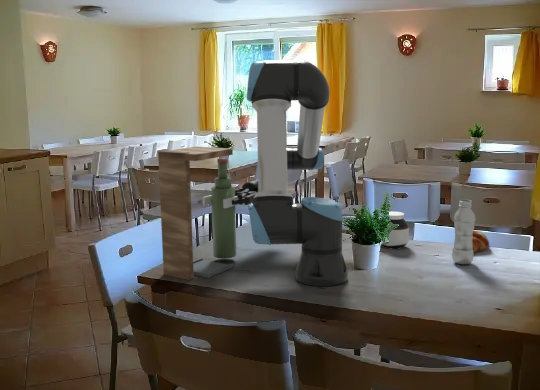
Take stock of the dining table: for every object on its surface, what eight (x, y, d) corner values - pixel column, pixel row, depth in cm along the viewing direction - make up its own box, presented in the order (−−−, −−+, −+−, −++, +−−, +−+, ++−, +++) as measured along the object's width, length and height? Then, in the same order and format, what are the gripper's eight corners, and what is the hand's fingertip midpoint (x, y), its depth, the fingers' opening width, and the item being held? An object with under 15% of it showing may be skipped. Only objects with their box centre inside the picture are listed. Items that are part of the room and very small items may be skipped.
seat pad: (200, 260, 191) (200, 257, 190) (232, 267, 184) (232, 264, 183) (175, 270, 181) (174, 267, 180) (208, 277, 174) (208, 274, 173)
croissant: (474, 250, 212) (465, 229, 213) (501, 241, 206) (491, 219, 207) (453, 263, 196) (443, 240, 197) (480, 253, 190) (470, 230, 191)
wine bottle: (240, 256, 189) (238, 159, 183) (218, 259, 185) (215, 160, 180) (230, 250, 195) (228, 156, 190) (209, 253, 192) (207, 158, 186)
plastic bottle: (474, 261, 187) (477, 199, 183) (471, 267, 181) (475, 203, 177) (453, 259, 189) (456, 198, 186) (450, 265, 183) (453, 201, 180)
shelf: (200, 260, 191) (196, 145, 184) (235, 267, 184) (232, 148, 177) (163, 274, 177) (158, 151, 170) (199, 282, 170) (195, 153, 163)
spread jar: (411, 247, 204) (413, 214, 202) (390, 253, 197) (391, 219, 195) (384, 240, 213) (385, 208, 211) (363, 246, 206) (364, 213, 204)
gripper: (280, 205, 197) (240, 218, 178) (232, 199, 208) (189, 211, 189) (280, 183, 196) (240, 193, 177) (231, 178, 207) (188, 188, 188)
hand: (213, 202), depth 183 cm, fingers closed on wine bottle, 7 cm apart
